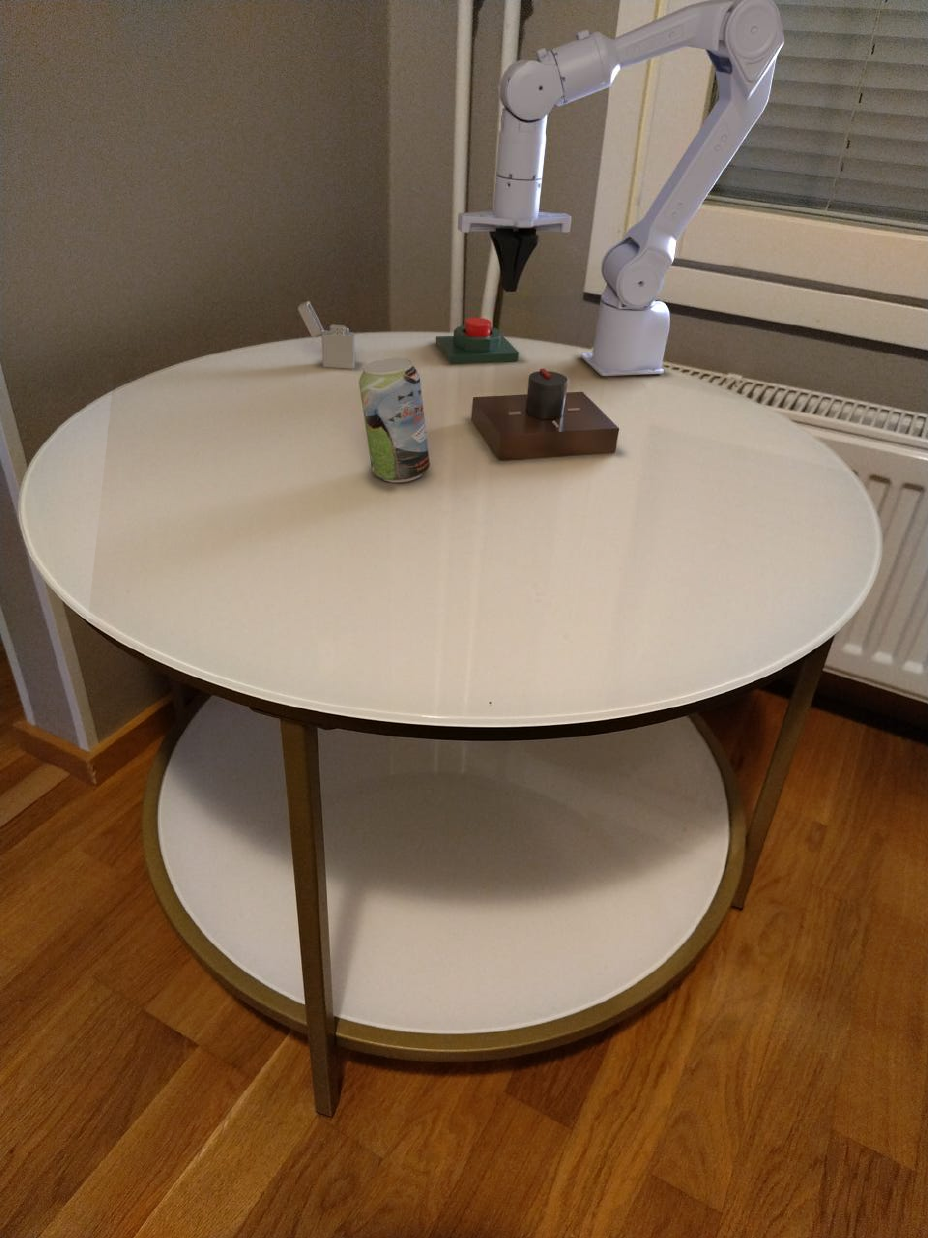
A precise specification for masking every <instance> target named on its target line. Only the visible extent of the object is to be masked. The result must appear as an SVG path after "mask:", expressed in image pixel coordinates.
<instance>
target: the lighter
mask: <svg viewBox="0 0 928 1238" xmlns="http://www.w3.org/2000/svg"><path fill="white" fill-rule="evenodd" d="M297 310H298V312H299V314H300V316H301V318H302V320H303V322H304V324H305V326H306V328H307V330H308V332H309V334H310V335H311V338H315V337H319V336H320V335H321V353H322V354H321V355H322V367H324V368H333V369H334V368H335V369H336V368H337V369H350V370H353V369H355V366H356V334H355V332H351V331H350V330H349V328H348V327H347V326H346V325H344V324H333V323H332V324H331V325H330V326H329V330H325V329H324V327H323V326H322V324H321V321H320V319H319V317H318V315H317V313H316V311H315V310H314V307H313V306H312V303H311V302H310V301H309V300H307V301H305V302H302V303H300V304H299V305H298V306H297Z"/></svg>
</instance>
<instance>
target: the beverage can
mask: <svg viewBox="0 0 928 1238" xmlns="http://www.w3.org/2000/svg"><path fill="white" fill-rule="evenodd" d="M358 386H359V387H358V388H359V392H360V400H361V405H362V412H363V418H364V425H365V431H366V439H367V444H368V445H367V446H368V451H369V457H370V464H371V471H372V473H373V474H374V476H376V477H378V478H379V479H380V478H381V480H383V481H385V482H388V483H397V484H398V483H406V482H411V481H413V480H416V479H418V478H420V477H422V475H423V474H424V473H425V472H426V471H427V470H428V469H429V468H430V467H431V466H430V465H431V463H430V452H429V445H428V436H427V435H428V434H427V427H426V418H425V410H424V409H425V408H424V402H423V401H424V400H423V392H422V383H421V375H420V373H419V372H418V369H416V367H414V365H413V360H412V359H409V358H405V357H385V358H379V359H374V360H372V361H369V362H367V363H365V364H363V366H362V373H361V375H360V377H359V381H358Z"/></svg>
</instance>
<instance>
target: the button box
mask: <svg viewBox="0 0 928 1238" xmlns="http://www.w3.org/2000/svg"><path fill="white" fill-rule="evenodd" d="M435 346H436V347H437V348H438V350H439V352H440V353H441V354H442V355H443V357H444V358H445V359H446V360H447V362H448V363H449V364H450V365H453V364H455V365H456V364H476V363H477V364H479V363H480V364H481V363H504V362H518V361H519V357H520V352H519V351H518V350H517V349H516V348H515V347H514V346H513V345H512V344H511V343H510V342H509V341H508V339H506V337H505V336H504V335H503V334H502V331H500V330H499V329H498V328H496V327H493V326H491V332H490V336H486V337H477V336H470V335H467V334H465V324H463V325H459V326H456V327H455V329H454V330H453V335H436V336H435Z"/></svg>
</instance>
